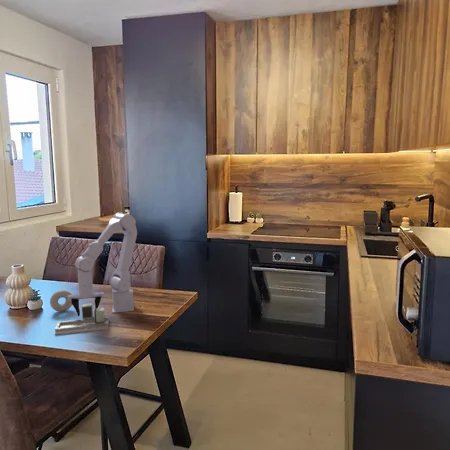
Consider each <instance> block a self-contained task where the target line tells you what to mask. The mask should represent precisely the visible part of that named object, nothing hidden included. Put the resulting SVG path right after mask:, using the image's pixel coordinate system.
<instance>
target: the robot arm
mask: <svg viewBox="0 0 450 450" xmlns="http://www.w3.org/2000/svg"><path fill="white" fill-rule="evenodd" d="M136 223H137V220H136V219H135V218H134V216H133V215H131V214H127V213H122V212H117V213H115V214H114V215H113V216H112V217H111V218H110V219H109V222H108V224H107V225H106V227H105V228H104V229H103V231H102V233H101V234H100V236H99V237H98V238H97V240H96V241H92V242H91V243H90V242H89V243H88V244H87V246H88V247H87V248H86V249H85V250H84V252H83V253H81V254H80V255H81V256H78V257H77V258H76V260H75V262H74V266H75V268H76V270H77V283H78V285H77V286H78V293H75V294H72V295H68V301H71V300H72V302H71V303H72V306H73V308H74V309H75V312H76V315H77V317H80V315H81V309H80V300H87V299H94V306H95V307H94V308H95V309H96V308H99V306H100V303H101V300H102V298H105V293H104V291H103V292H102V291H100V292H99V291H94V287H93V286H94V285H93V273H92V269H93V268H94V264H95V262H96V260H97V259H98V258H99V256H100V255H101V254H102V252H103V250H104V245H106V243H107V242H108V240H109V239H110V238H111V237H112V236H113V235H114V233H116V232H120V231H121V232H122V234H123V235H124V236H123V239H122V245H121V249H120V253H119V258H118V262H117V265H116V269H115V270H114V271H113V272H112V274H111V277H110V278H109V282H108V283H109V286H110V287H111V289H112V290H111V294H112V296H111V297H112V311H111V313H113V314H115V313H124V312H133V311H134V310H135V308H134V306H135V301H134V290H133V289H131V285H132V283H131V277H132V276H131V274H130V268H131V261H132V258H133V255H134V254H133V253H134V249H135V245H136V241H137V236H138V230H137V226H136ZM95 309H94V310H95Z"/></svg>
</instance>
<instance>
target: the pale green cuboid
mask: <svg viewBox="0 0 450 450" xmlns="http://www.w3.org/2000/svg"><path fill="white" fill-rule="evenodd" d="M93 312H94V308H93V303H84V304H83V303H82V305H81V313H82V314H81V317H82V319H92V318H94V313H93Z"/></svg>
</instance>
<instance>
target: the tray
mask: <svg viewBox="0 0 450 450" xmlns="http://www.w3.org/2000/svg"><path fill="white" fill-rule="evenodd" d="M93 312H94V313H93V318H92V319H83V318H82V319H74V320H65V321H58V322H57V323H56V326H55V328H54V335H65V334H74V333H85V332H93V331H101V330H102V331H104V330H109V325H110V319H109V316H105V307H102V306H101V307H98V308H96V309H94V310H93Z"/></svg>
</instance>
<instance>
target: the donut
mask: <svg viewBox="0 0 450 450" xmlns="http://www.w3.org/2000/svg"><path fill="white" fill-rule="evenodd" d="M68 295H73V294H72V293H71V292H70V291H69V290H65V289H61V290H57V291H55V292H54V293H52V295H51V297H50V300H49V305H50V307H51V308H52V309H53V310H54V311H56V312H65V311H68V310H70V308H71V307H72V306H73V305H72V303H71V302H72V300H71V301H68ZM62 298H63V299H65V302H64V303H59V300H60V299H62Z"/></svg>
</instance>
